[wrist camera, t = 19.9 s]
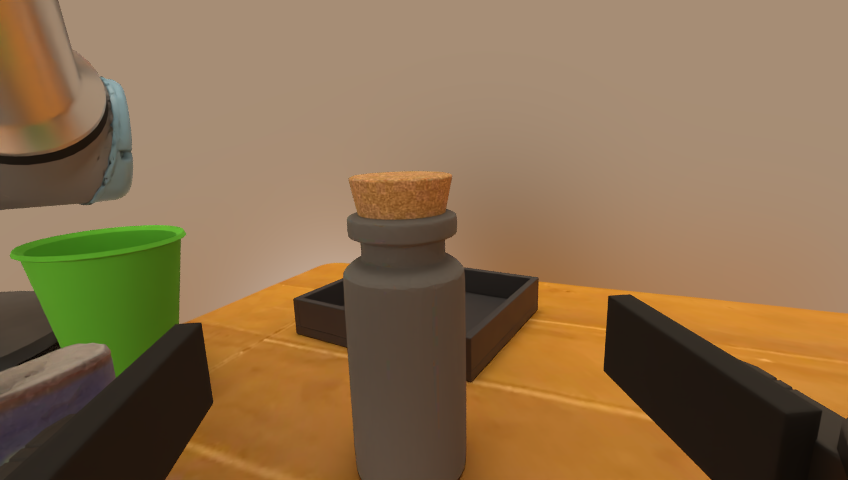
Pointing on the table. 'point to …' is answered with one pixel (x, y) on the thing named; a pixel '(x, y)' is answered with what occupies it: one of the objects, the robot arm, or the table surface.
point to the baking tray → (484, 313)
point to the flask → (49, 391)
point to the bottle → (406, 329)
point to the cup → (108, 286)
